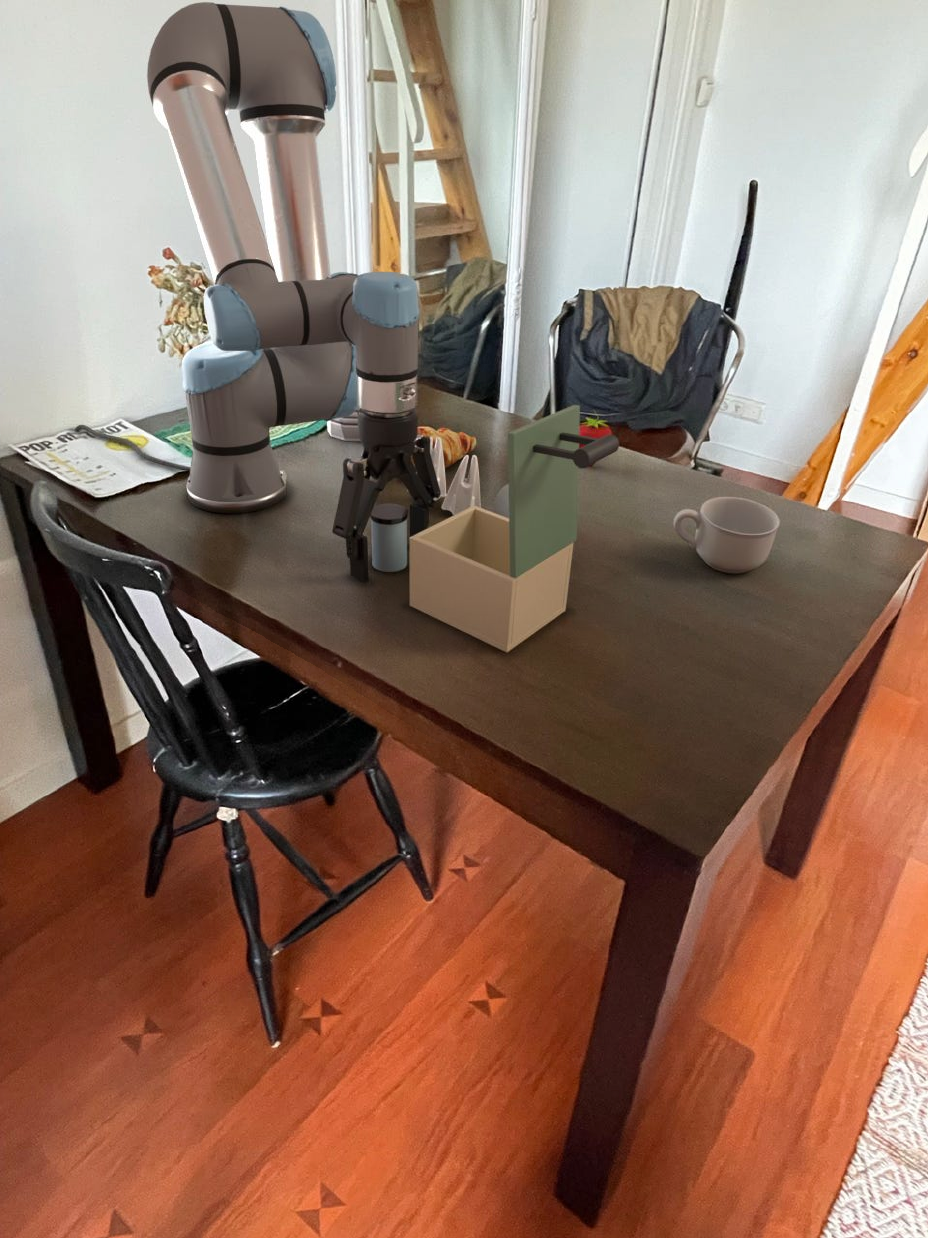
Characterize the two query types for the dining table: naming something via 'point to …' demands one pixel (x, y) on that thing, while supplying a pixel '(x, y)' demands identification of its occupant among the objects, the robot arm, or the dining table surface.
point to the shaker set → (456, 481)
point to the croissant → (449, 443)
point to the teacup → (731, 533)
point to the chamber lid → (547, 485)
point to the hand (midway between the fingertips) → (389, 562)
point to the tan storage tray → (484, 580)
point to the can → (344, 427)
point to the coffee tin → (389, 537)
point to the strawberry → (593, 430)
